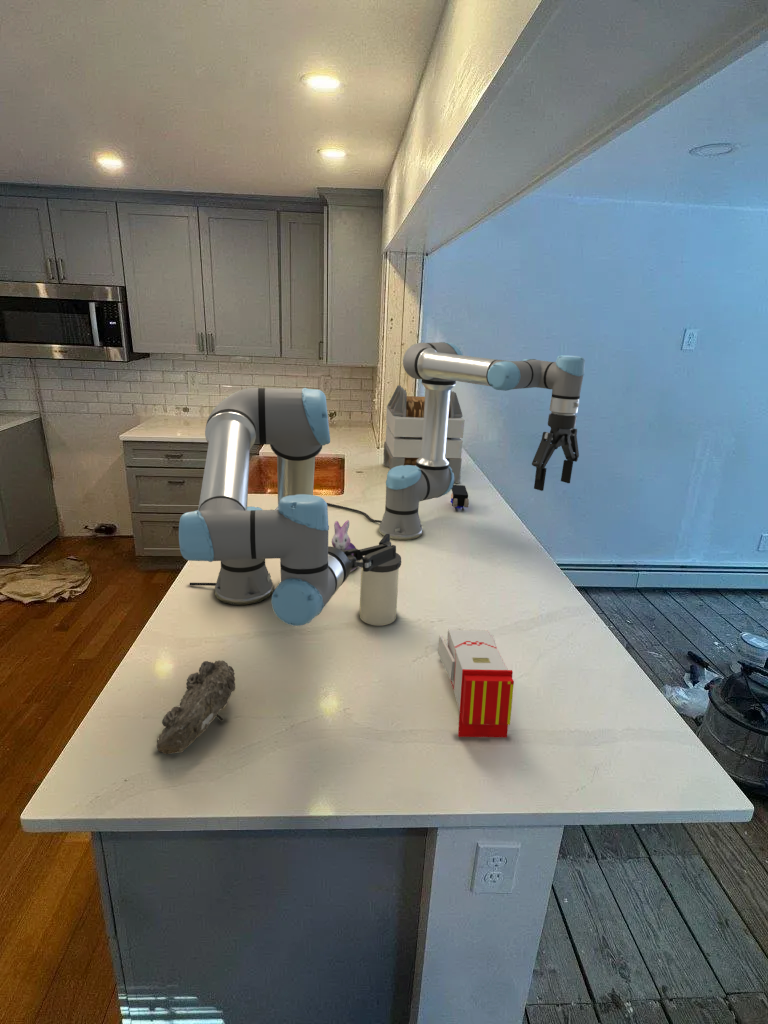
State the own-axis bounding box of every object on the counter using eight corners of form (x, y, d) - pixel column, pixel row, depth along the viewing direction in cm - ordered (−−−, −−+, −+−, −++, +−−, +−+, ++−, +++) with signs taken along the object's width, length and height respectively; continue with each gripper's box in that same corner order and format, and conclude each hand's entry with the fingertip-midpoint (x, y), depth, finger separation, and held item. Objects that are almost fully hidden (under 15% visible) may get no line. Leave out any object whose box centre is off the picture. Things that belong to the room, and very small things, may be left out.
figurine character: (468, 516, 224) (463, 500, 237) (471, 498, 221) (465, 483, 234) (452, 515, 224) (447, 499, 237) (453, 498, 220) (449, 482, 234)
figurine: (336, 577, 165) (336, 529, 160) (323, 563, 174) (323, 517, 169) (365, 572, 170) (367, 525, 164) (351, 558, 178) (352, 514, 173)
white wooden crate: (382, 463, 289) (386, 382, 275) (445, 464, 293) (451, 384, 279) (390, 482, 257) (394, 392, 243) (460, 483, 261) (468, 394, 247)
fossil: (184, 662, 117) (235, 629, 112) (216, 692, 120) (268, 662, 115) (132, 748, 97) (191, 713, 92) (172, 781, 100) (232, 750, 95)
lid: (408, 568, 139) (409, 562, 138) (369, 575, 134) (370, 569, 134) (389, 552, 148) (389, 546, 147) (352, 558, 143) (352, 552, 143)
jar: (402, 621, 144) (406, 563, 139) (368, 628, 140) (371, 569, 135) (386, 604, 152) (388, 549, 147) (353, 610, 148) (355, 554, 143)
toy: (488, 613, 130) (523, 677, 101) (484, 667, 133) (517, 744, 104) (435, 612, 130) (455, 676, 101) (432, 666, 133) (451, 743, 103)
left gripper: (260, 587, 104) (301, 551, 124) (393, 597, 98) (414, 558, 118) (257, 548, 102) (300, 518, 122) (393, 556, 96) (414, 523, 116)
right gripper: (548, 419, 148) (537, 496, 155) (598, 411, 163) (586, 482, 171) (525, 414, 153) (515, 489, 160) (575, 407, 169) (564, 476, 176)
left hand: (356, 538), depth 120 cm, fingers open, 13 cm apart
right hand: (552, 485), depth 166 cm, fingers open, 13 cm apart
